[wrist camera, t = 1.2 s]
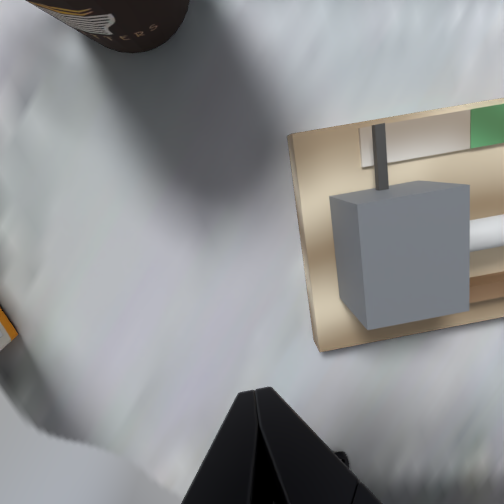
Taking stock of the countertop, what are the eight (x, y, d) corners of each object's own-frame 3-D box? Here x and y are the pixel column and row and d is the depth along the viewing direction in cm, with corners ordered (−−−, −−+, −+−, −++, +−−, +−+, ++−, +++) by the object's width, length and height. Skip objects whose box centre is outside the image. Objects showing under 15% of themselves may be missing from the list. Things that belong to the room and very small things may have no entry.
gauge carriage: (519, 264, 20) (588, 287, 16) (339, 297, 20) (367, 330, 16) (526, 99, 18) (610, 82, 14) (322, 134, 17) (350, 125, 14)
